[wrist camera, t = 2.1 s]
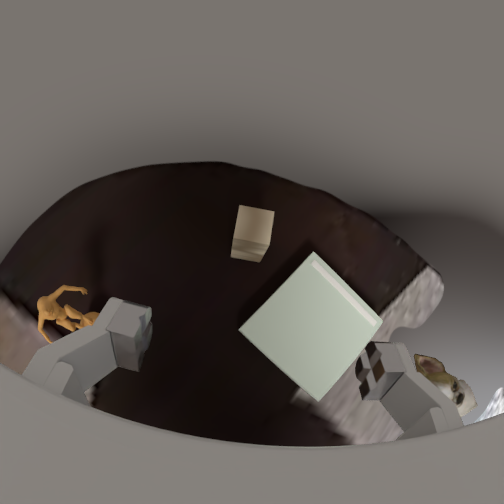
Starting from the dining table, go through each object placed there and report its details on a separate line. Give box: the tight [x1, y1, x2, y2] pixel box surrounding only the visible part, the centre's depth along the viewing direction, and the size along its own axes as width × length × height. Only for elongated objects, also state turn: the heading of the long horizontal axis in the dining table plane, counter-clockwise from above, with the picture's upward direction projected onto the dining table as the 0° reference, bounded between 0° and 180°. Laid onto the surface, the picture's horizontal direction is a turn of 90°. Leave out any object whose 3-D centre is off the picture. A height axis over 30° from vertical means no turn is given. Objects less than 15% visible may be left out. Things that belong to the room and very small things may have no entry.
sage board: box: [238, 252, 383, 401], centre depth 36 cm, size 14×14×3 cm
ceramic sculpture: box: [414, 354, 478, 417], centre depth 32 cm, size 11×9×15 cm
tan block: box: [231, 205, 274, 262], centre depth 36 cm, size 4×4×8 cm
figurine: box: [37, 285, 100, 344], centre depth 28 cm, size 8×6×12 cm
